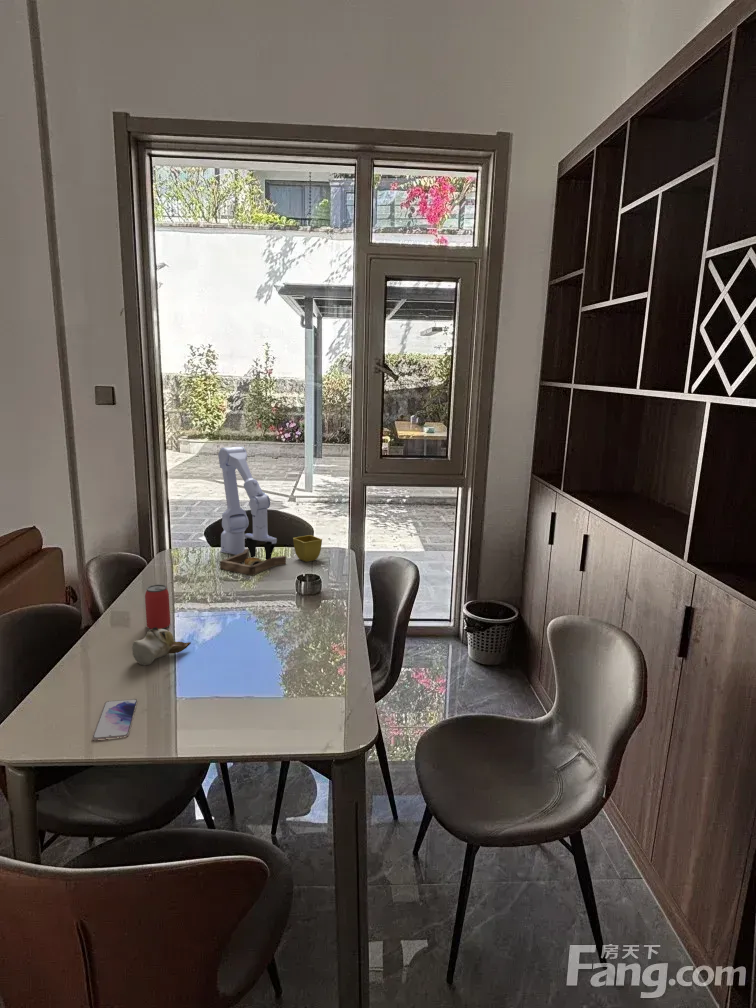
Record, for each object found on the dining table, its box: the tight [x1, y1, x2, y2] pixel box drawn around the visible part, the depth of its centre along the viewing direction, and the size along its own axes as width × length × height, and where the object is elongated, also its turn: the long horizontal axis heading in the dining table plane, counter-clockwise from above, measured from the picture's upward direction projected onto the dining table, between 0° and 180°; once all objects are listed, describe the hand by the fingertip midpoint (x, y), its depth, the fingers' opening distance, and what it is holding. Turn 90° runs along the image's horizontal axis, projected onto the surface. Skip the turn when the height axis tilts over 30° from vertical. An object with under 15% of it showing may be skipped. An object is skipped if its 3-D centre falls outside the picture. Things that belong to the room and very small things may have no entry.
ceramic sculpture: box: [131, 627, 192, 666], centre depth 159 cm, size 11×9×15 cm
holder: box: [219, 548, 287, 576], centre depth 237 cm, size 20×18×3 cm
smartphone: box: [91, 698, 138, 741], centre depth 131 cm, size 7×1×15 cm
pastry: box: [243, 557, 262, 566], centre depth 236 cm, size 9×7×4 cm
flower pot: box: [292, 534, 323, 563], centre depth 245 cm, size 9×9×9 cm
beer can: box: [144, 584, 171, 630], centre depth 178 cm, size 7×7×12 cm
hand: (260, 558), depth 242 cm, fingers open, 7 cm apart
